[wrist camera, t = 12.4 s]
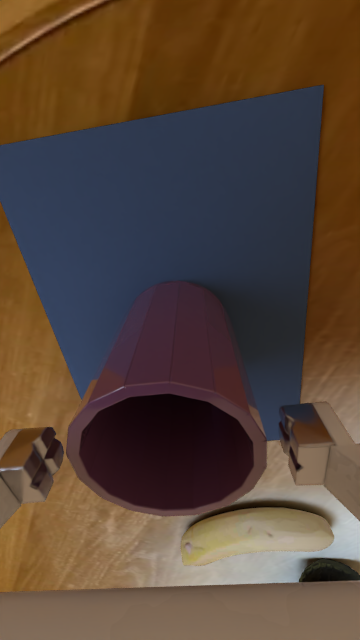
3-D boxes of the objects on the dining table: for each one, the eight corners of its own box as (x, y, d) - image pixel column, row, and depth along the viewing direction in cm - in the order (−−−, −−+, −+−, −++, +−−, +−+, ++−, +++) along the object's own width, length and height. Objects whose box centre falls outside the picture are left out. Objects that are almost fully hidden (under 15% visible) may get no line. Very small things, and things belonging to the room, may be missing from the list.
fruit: (173, 501, 26) (171, 542, 23) (333, 494, 25) (352, 537, 22) (182, 538, 29) (181, 578, 27) (324, 534, 28) (340, 576, 25)
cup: (113, 287, 16) (34, 394, 8) (226, 273, 15) (267, 372, 7) (137, 376, 19) (98, 520, 11) (232, 367, 18) (266, 512, 10)
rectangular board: (-16, 150, 13) (-22, 149, 13) (320, 87, 12) (324, 84, 11) (104, 448, 23) (102, 452, 23) (295, 434, 21) (297, 438, 21)
